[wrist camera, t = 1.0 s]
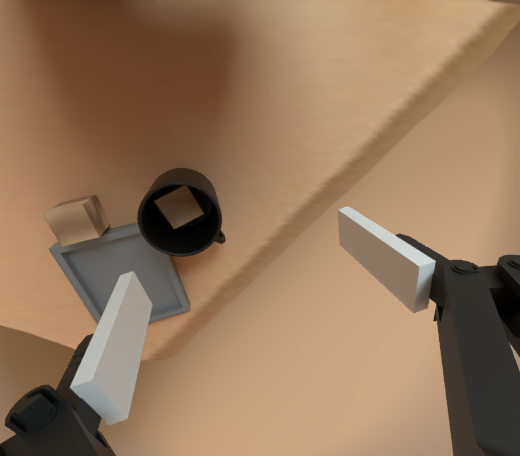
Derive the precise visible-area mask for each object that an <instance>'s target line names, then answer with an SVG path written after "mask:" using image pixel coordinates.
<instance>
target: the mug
mask: <svg viewBox="0 0 520 456" xmlns="http://www.w3.org/2000/svg"><path fill="white" fill-rule="evenodd" d="M173 185H184V186H190V187H193V188H194V189H195V191H196V193H197V194H198V196H199V198H200V199H201V201H202V203H203V207H204V214H203V215H201V216H199V217H197V218H195V219H193V220H191V221H189V222H187V223H185V224H183V225H182V226H180V227H178V228H176V229H174V228H173V227H172V225H171V224H170V223H169V221H168V220H167V218H166V217H165V216H164V214H163V213H162V211H161V210H160V209H159V207H158V206H157V204H156V203H155V202H154V200H155V198H156V196H157V195H158V193H159V192H160V191H161V190H163V189H165V188H167V187H169V186H173ZM137 219H138V226H139V229H140V232H141V234H142V236H143V237H144V239H145V240H146V241H147V242H148V243H149V244H150V245H151V246H152V247H153V248H155V249H156V250H158V251H160V252H162V253H164V254H167V255H171V256H179V257H183V256H191V255H195V254H197V253H200V252H202V251H204V250H205V249H207V248H208V247H209V246H210V245H211V244H212V243H213V242H214V241H215V242H217V243H220V244H223V243H224V242H225V236H224V234H223V233H222V231H221V225H222V215H221V210H220V206H219V203H218V199H217V196H216V192H215V189H214V187H213V185H212V184H211V182H210V181H209V180H208V179H207V178H206V177H205V176H204V175H202V174H201V173H199V172H197V171H194V170H191V169H186V168H177V169H172V170H169V171H167V172H165V173H163V174H162V175H161V176H159V177H158V178H157V179H156V181H155V182H154V184H153V185H152V187H151V188H150V190H149V191H148V193H147V194H146V196H145V197H144V199H143V200H142V202H141V204H140V206H139V210H138V218H137ZM218 236H219V237H218Z"/></svg>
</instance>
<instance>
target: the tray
mask: <svg viewBox="0 0 520 456" xmlns="http://www.w3.org/2000/svg"><path fill="white" fill-rule="evenodd" d="M49 250H50V252H51V253H52V255H53V256H54V258H55V260H56V261H57V263H58V264H59V266H60V267H61V269H62V270H63V272H64V273H65V275H66V277H67V278H68V280H69V281H70V283H71V284H72V286H73V287H74V289H75V290H76V292H77V293H78V295H79V297H80V298H81V300H82V301H83V303H84V304H85V306H86V307H87V309H88V310H89V312H90V314H91V315H92V317H93V318H94V320H95V321H96V323H97V324H99V321H100V319H101V317H102V315H103V313H104V310H105V308H106V306H107V304H108V301H109V299H110V297H111V295H112V293H113V290H114V288H115V286H116V284H117V281H118V279H119V277H120V275H122V274H126V273H129V272H132V271H134V273H135V274H136V276H137V278H138V280H139V282H140V283H141V285H142V287H143V289H144V290H145V292H146V294H147V296H148V297H149V299H150V301H151V303H152V304H153V305H152V310H151V314H150V319H149V323H151V322H154V321H157V320H161V319H164V318H167V317H170V316H174V315H177V314H180V313H183V312H187V311H190V302H189V300H188V297H187V295H186V292H185V290H184V287H183V285H182V282H181V280H180V277H179V275H178V272H177V270H176V267H175V265H174V262H173V260H172V257H171V255H167V254H164V253H162V252H160V251H158V250H156V249H155V248H153V247H152V246H151V245H150V244H149V243H148V242H147V241H146V240H145V239H144V237H143V236H142V234H141V232H140V229H139V226H138V223H134V224H130V225H126V226H122V227H118V228H114V229H110V230H106V231H104V232H103V233H102V235H101V236H100V237H98V238H94V239H90V240H86V241H82V242H78V243H74V244H70V245H66V246H62V245H61V244H60V242H58V243H55V244H54V245H53V246H52V247H51V248H49Z"/></svg>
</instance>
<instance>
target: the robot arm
mask: <svg viewBox="0 0 520 456" xmlns="http://www.w3.org/2000/svg"><path fill="white" fill-rule="evenodd" d="M338 222H339V239H340V245H341V246H342V247H343V248H344V249H345V250H346V251H347V252H348V253H349V254H351V256H353V257H354V258H355V259H356V260H357V261H358V262H359V263H360V264H361V265H362V266H363V267H364V268H365V269H367V270H368V271H369V272H370V273H371V274H372V275H373V276H374V277H375V278H376V279H377V280H378V281H379V282H380V283H382V284H383V285H384V286H385V287H386V288H387V289H388V290H389V291H390V292H391V293H393V295H394V296H396V297H397V298H398V299H399V300H400V301H401V302H402V303H403V304H404V305H405V306H406V307H407V308H408V309H410V310H411V311H412V312H413V313H416V312H418V311H421V310H424V309H426V308H428V304H429V298H430V299H431V300H432V301H434V302H435V303H436V310H435V315H434V320H433V321H436V320H437V325H438V333H439V342H440V350H441V358H442V366H443V374H444V382H445V390H446V398H447V407H448V415H449V423H450V431H451V438H452V446H453V455H454V456H520V371H519V368H518V366H517V363H516V360H515V358H514V355H513V352H512V349H511V347H510V344H511V345H512V346H513V348H514V349H515V351H516V352H517V354H518V355H519V357H520V255H504V256H502V257H500V258H499V260H498V263H497V265H495V266H484V267H478V266H477V265H475V264H473V263H471V262H468V261H463V260H448V259H446V258H445V257H443V256H442V255H440V254H438V253H437V252H435V251H433V250H432V249H430V248H428V247H425V245H423V244H421V243H418V241H416V240H415V239H412V238H411V237H409V236H406V235H402V234H397V235H393V234H392V233H390V232H388V231H387V230H385V229H384V228H382V227H380V226H379V225H377V224H376V223H374V222H373V221H371V220H370V219H368V218H366V217H365V216H363V215H361V214H360V213H358V212H357V211H355V210H354V209H352V208H350V207H344V208H341V209H338ZM152 305H153V304H152V303H151V301H150V299H149V297H148V296H147V294H146V292H145V290H144V289H143V287H142V285H141V283H140V282H139V280H138V278H137V276H136V274H135V273H134V271H132V272H129V273H126V274H122V275H120V277H119V279H118V281H117V284H116V286H115V288H114V290H113V293H112V295H111V297H110V299H109V301H108V304H107V306H106V308H105V310H104V313H103V315H102V317H101V319H100V321H99V324H98V326H97V328H96V330H95V333H94V334H91V335H88V336H86V337H85V338H84V339H83V341H82V342H81V343H80V344H79V345H78V347H77V349H76V351H75V353H74V355H73V357H72V358H73V359H71V361H70V363H69V365H68V368H67V369H66V371H65V373H64V375H63V377H62V379H61V381H60V383H59V385H58V387H57V389H56V390H55V389H53V388H52V387H51V386H50V385H42V386H39V387H37V388H35V389H33V390H31V391H30V392H28V393H27V394H25V395H24V396H23V397H22V398H21V399H20V400H19V401H17V403H16V404H15V405H14V406H13V408H12V409H11V410H10V411H9V413H8V415H7V417H6V419H5V426H6V427H8V428H10V429H11V430H12V431H14V432H15V433H16V435H14V436H13V437H11V438H9V439H8V440H6V441H4V442H3V443H1V444H0V456H116V455H115V453H114V452H113V450H112V449H111V447H110V446H109V444H108V443H107V441H106V440H105V438H104V436H103V435H102V433H101V432H99V431H98V427H99V424H100V421H101V419H102V420H103V421H104V422H105V423H106V424H107V425H112V424H115V423H117V422H120V421H123V420H126V419H128V415H129V411H130V407H131V402H132V397H133V393H134V388H135V383H136V379H137V374H138V369H139V365H140V360H141V356H142V351H143V347H144V342H145V337H146V333H147V328H148V323H149V319H150V314H151V310H152ZM509 342H510V344H509Z"/></svg>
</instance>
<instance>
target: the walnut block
mask: <svg viewBox="0 0 520 456" xmlns="http://www.w3.org/2000/svg"><path fill="white" fill-rule="evenodd" d="M154 202H155V203H156V204H157V206H158V207H159V209H160V210H161V211H162V213H163V214H164V216H165V217H166V218H167V220H168V221H169V223H170V224H171V225H172V227H173V228H174V229H176V228H178V227H180V226H182V225H183V224H185V223H187V222H189V221H191V220H193V219H195V218H197V217H199V216H201V215H203V214H204V207H203V203H202V201H201V199H200V198H199V196H198V194H197V193H196V191H195V189H194V188H193V187H190V186H184V185H173V186H169V187H167V188H165V189H163V190H161V191H160V192H159V193H158V195H157V196H156V198H155V200H154Z"/></svg>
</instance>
